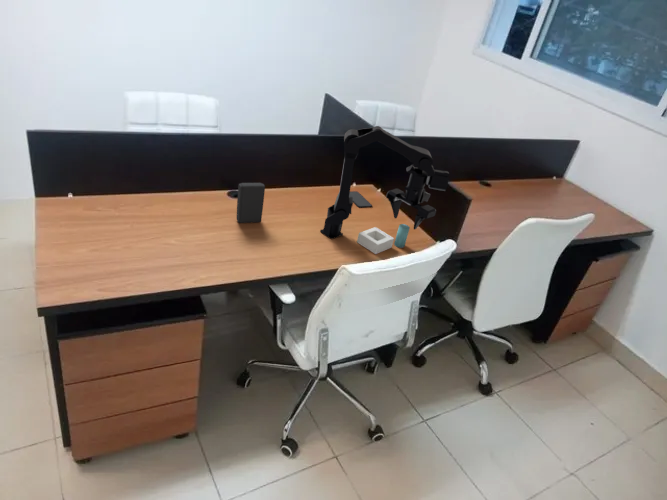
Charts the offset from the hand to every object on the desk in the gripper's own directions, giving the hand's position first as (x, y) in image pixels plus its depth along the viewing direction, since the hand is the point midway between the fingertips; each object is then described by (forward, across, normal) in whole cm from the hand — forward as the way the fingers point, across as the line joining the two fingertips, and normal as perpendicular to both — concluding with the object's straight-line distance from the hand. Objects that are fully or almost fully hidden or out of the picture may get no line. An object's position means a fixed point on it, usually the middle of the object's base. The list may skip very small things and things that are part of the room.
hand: (405, 223), depth 177 cm
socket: (+9, +5, +9) cm, 14 cm away
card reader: (+10, +41, +40) cm, 58 cm away
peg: (+9, 0, 0) cm, 9 cm away
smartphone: (+10, +35, -14) cm, 39 cm away
